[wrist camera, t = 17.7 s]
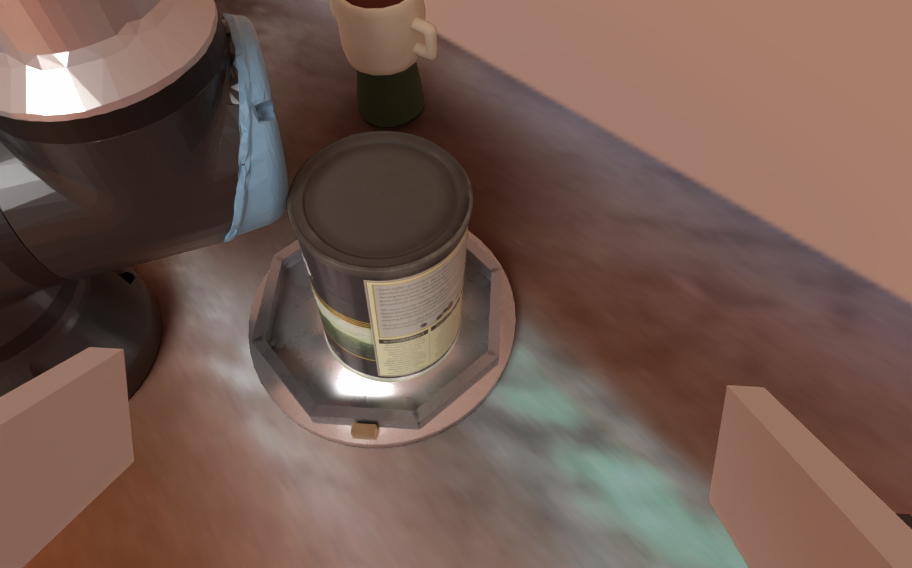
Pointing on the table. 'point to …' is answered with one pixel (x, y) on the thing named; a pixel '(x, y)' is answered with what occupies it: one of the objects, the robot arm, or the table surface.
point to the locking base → (365, 401)
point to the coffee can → (384, 250)
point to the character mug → (386, 55)
